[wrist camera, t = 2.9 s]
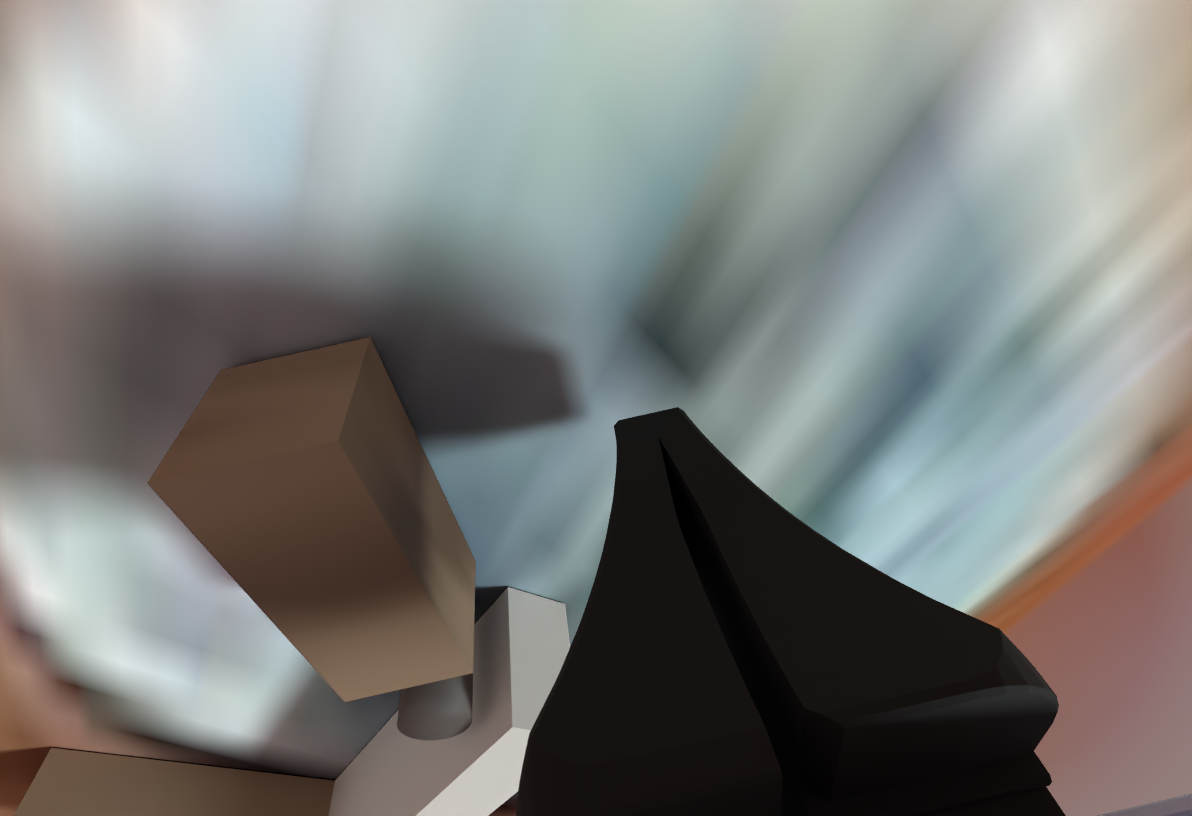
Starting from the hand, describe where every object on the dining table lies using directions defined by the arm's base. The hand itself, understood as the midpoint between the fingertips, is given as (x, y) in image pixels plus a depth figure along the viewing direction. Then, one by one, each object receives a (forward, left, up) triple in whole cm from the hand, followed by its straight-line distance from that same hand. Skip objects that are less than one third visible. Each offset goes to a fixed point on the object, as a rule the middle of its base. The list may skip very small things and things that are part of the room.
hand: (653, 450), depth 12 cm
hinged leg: (-1, +7, -2) cm, 7 cm away
